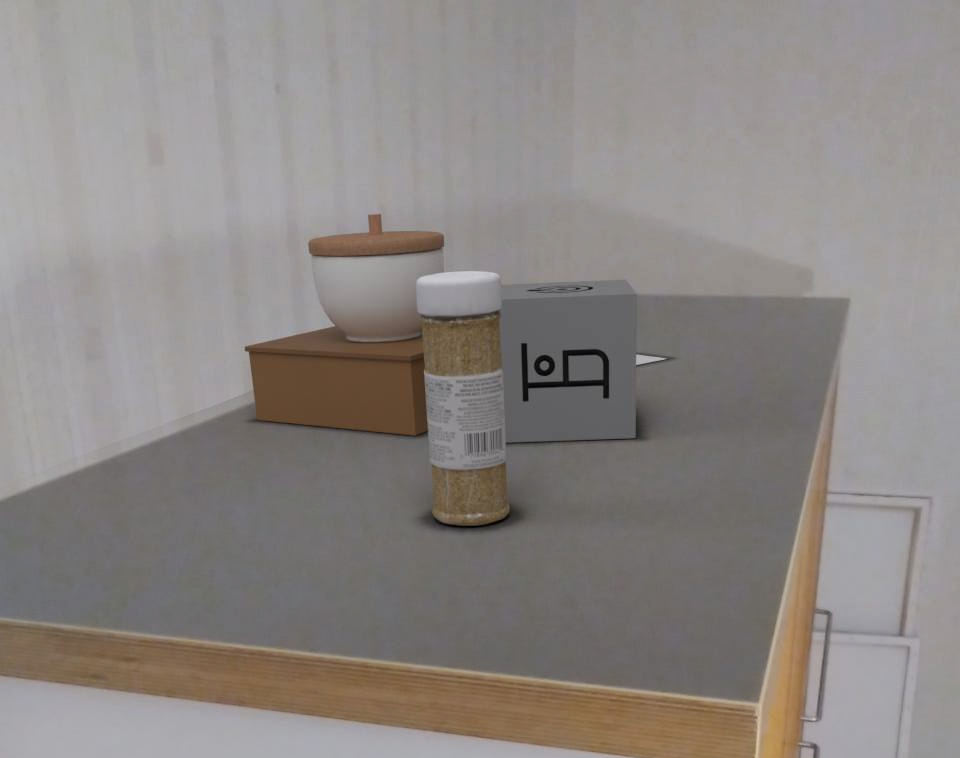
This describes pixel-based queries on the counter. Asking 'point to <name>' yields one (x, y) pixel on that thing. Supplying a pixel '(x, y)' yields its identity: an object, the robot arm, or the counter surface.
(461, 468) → the sprinkles bottle
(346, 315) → the trinket box
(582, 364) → the icon cube
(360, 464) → the counter surface
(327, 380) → the takeaway box
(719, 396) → the counter surface
